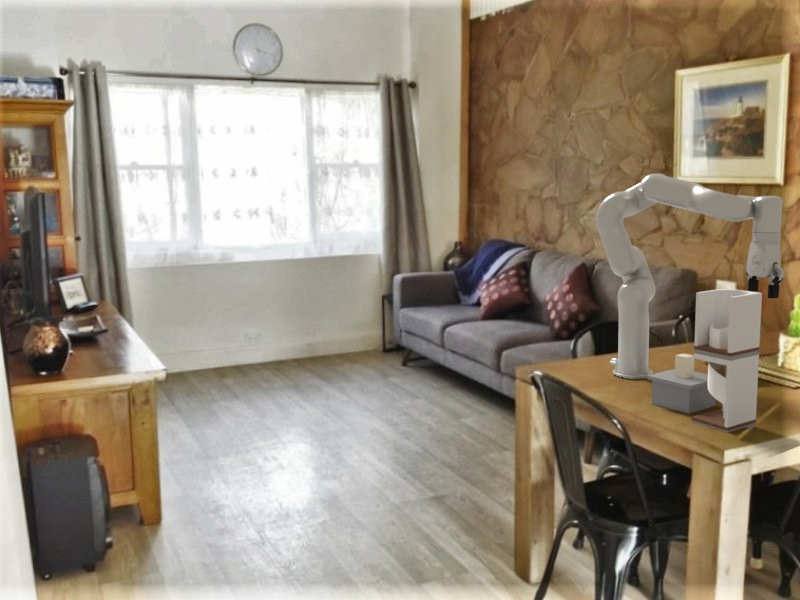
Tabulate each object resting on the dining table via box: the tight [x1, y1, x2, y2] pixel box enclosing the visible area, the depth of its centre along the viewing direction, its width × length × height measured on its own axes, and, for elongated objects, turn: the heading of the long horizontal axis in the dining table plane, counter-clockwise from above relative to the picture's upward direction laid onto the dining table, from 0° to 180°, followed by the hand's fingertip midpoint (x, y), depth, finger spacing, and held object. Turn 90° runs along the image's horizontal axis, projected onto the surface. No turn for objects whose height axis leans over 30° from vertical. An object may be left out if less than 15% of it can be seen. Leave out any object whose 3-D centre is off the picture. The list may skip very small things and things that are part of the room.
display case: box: [691, 287, 763, 433], centre depth 196 cm, size 11×11×35 cm
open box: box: [651, 380, 717, 415], centre depth 214 cm, size 12×12×8 cm
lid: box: [646, 353, 708, 389], centre depth 213 cm, size 14×14×8 cm
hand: (762, 295), depth 228 cm, fingers open, 9 cm apart
